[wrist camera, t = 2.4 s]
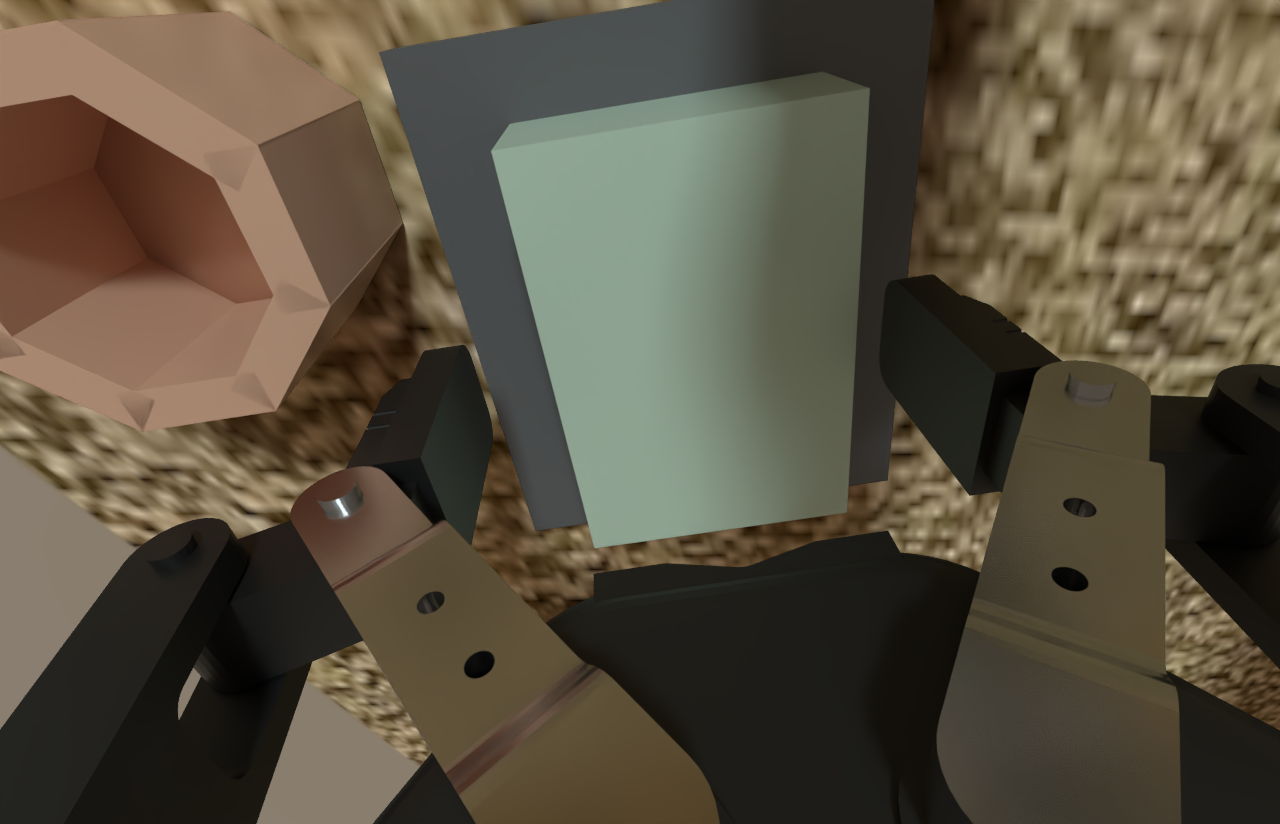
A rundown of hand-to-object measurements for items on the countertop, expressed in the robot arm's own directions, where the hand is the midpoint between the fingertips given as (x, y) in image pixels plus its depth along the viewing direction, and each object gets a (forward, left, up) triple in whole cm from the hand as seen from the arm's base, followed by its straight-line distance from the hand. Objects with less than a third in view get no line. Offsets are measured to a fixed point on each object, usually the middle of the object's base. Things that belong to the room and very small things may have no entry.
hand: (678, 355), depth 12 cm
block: (0, 0, -3) cm, 3 cm away
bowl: (+9, -4, -4) cm, 10 cm away
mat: (0, 0, -4) cm, 4 cm away
